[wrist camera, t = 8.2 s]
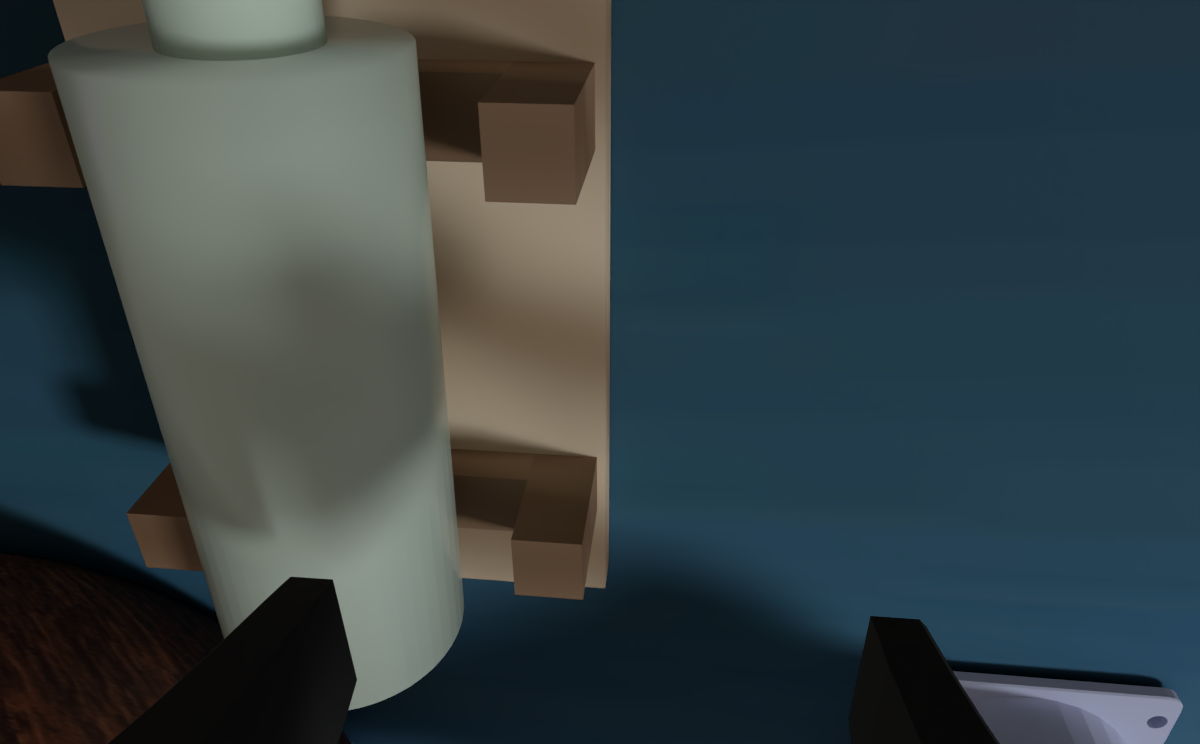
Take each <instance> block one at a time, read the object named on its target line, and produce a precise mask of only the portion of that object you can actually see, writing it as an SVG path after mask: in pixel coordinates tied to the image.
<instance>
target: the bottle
mask: <svg viewBox="0 0 1200 744" xmlns="http://www.w3.org/2000/svg"><path fill="white" fill-rule="evenodd" d="M141 2H142V6H143V10H144V14H145V18H146V22H147V23H140V24H133V25H127V26H121V27H116V28H111V29H106V30H102V31H97V32H93V33H89V34H86V35H82V36H79V37H76V38H73V39H71V40H68V41H65V42H63V43H61V44H59V45H57V46H56V47H54V48H53V49H52V50H51V51H50V52H49V54H48V61H49V64H50V67H51V70H52V74H53V77H54V80H55V84H56V87H57V90H58V94H59V97H60V100H61V103H62V107H63V110H64V113H65V117H66V120H67V123H68V126H69V130H70V133H71V136H72V140H73V143H74V146H75V150H76V153H77V156H78V159H79V163H80V166H81V169H82V173H83V176H84V179H85V182H86V186H87V189H88V192H89V196H90V199H91V202H92V206H93V209H94V212H95V215H96V219H97V222H98V225H99V229H100V232H101V235H102V238H103V242H104V245H105V248H106V252H107V255H108V258H109V262H110V265H111V268H112V271H113V275H114V278H115V281H116V285H117V288H118V291H119V294H120V298H121V301H122V304H123V308H124V311H125V314H126V318H127V321H128V324H129V327H130V331H131V334H132V337H133V341H134V344H135V347H136V350H137V354H138V357H139V360H140V364H141V367H142V370H143V374H144V377H145V380H146V383H147V387H148V390H149V393H150V397H151V400H152V403H153V406H154V410H155V413H156V416H157V420H158V423H159V426H160V429H161V433H162V436H163V439H164V443H165V446H166V449H167V453H168V456H169V459H170V462H171V466H172V469H173V472H174V476H175V479H176V482H177V485H178V489H179V492H180V495H181V499H182V502H183V505H184V509H185V512H186V515H187V518H188V522H189V525H190V528H191V532H192V535H193V538H194V541H195V545H196V548H197V551H198V555H199V558H200V561H201V565H202V568H203V571H204V574H205V578H206V581H207V584H208V588H209V591H210V594H211V597H212V601H213V604H214V607H215V611H216V614H217V617H218V621H219V624H220V627H221V630H222V634H223V637H224V639H225V638H226V637H227V636H228V635H229V634H230V633H231V632H232V631H233V630H234V629H235V628H236V627H237V626H238V625H240V624H241V623H242V622H243V621H244V620H245V619H246V618H247V617H248V616H249V615H250V614H251V613H252V612H253V611H254V610H255V609H256V608H257V607H258V606H259V605H260V604H261V603H263V602H264V601H265V600H266V599H267V598H268V597H269V596H270V595H271V594H272V593H273V592H274V591H275V590H276V589H278V588H279V587H280V586H281V585H282V584H283V583H284V582H285V581H286V580H287V579H288V578H290V577H304V578H319V579H333V582H334V586H335V590H336V594H337V599H338V603H339V607H340V611H341V615H342V619H343V623H344V627H345V632H346V636H347V640H348V644H349V648H350V652H351V656H352V661H353V665H354V669H355V673H356V677H357V682H356V686H355V689H354V692H353V696H352V699H351V703H350V706H349V710H353V709H357V708H362V707H365V706H368V705H371V704H375V703H378V702H380V701H383V700H385V699H387V698H390V697H392V696H394V695H396V694H398V693H400V692H401V691H403V690H405V689H407V688H409V687H410V686H412V685H413V684H414V683H416V682H417V681H419V680H420V679H421V678H423V677H424V676H425V675H426V674H427V673H429V672H430V671H431V670H432V669H433V668H434V667H435V666H436V665H437V664H438V663H439V662H440V661H441V659H442V658H443V657H444V656H445V655H446V653H447V652H448V650H449V649H450V647H451V646H452V644H453V642H454V640H455V638H456V637H457V635H458V632H459V629H460V626H461V623H462V619H463V612H464V597H463V585H462V573H461V562H460V550H459V539H458V527H457V515H456V504H455V492H454V480H453V469H452V457H451V445H450V434H449V422H448V411H447V399H446V387H445V376H444V364H443V352H442V341H441V329H440V317H439V306H438V294H437V283H436V271H435V259H434V248H433V236H432V224H431V213H430V201H429V189H428V178H427V166H426V154H425V143H424V131H423V120H422V108H421V96H420V85H419V73H418V61H417V50H416V40H415V38H414V36H413V35H412V34H410V33H409V32H407V31H405V30H403V29H401V28H398V27H395V26H392V25H388V24H384V23H380V22H374V21H369V20H362V19H355V18H345V17H335V16H324V13H323V6H322V0H141Z"/></svg>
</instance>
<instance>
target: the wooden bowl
mask: <svg viewBox="0 0 1200 744" xmlns="http://www.w3.org/2000/svg"><path fill="white" fill-rule="evenodd" d="M223 640H224V637H223V634H222V630H221V627H220V624H219V623H218V622H217V621H215V620H213V619H212V618H210V617H208V616H206V615H204V614H202V613H200V612H198V611H196V610H194V609H192V608H190V607H188V606H186V605H184V604H182V603H180V602H178V601H176V600H174V599H171V598H169V597H167V596H164V595H162V594H160V593H158V592H155V591H153V590H151V589H148V588H145V587H143V586H140V585H137V584H134V583H132V582H129V581H126V580H123V579H121V578H118V577H115V576H111V575H108V574H104V573H101V572H98V571H94V570H91V569H88V568H84V567H79V566H75V565H71V564H66V563H62V562H58V561H53V560H46V559H40V558H34V557H28V556H20V555H9V554H0V744H108V743H109V742H110V741H111V740H113V739H114V738H115V737H116V736H117V735H118V734H120V733H121V732H122V731H123V730H124V729H125V728H127V727H128V726H129V725H130V724H131V723H133V722H134V721H135V720H136V719H137V718H138V717H140V716H141V715H142V714H143V713H144V712H145V711H147V710H148V709H149V708H150V707H151V706H152V705H153V704H154V703H156V702H157V701H158V700H159V699H160V698H161V697H162V696H163V695H164V694H165V693H167V692H168V691H169V690H170V689H171V688H172V687H173V686H174V685H175V684H176V683H177V682H179V681H180V680H181V679H182V678H183V677H184V676H185V675H186V674H187V673H188V672H189V671H191V670H192V669H193V668H194V667H195V666H196V665H197V664H198V663H199V662H200V661H201V660H203V659H204V658H205V657H206V656H207V655H208V654H209V653H210V652H211V651H212V650H213V649H214V648H215V647H216V646H217V645H218V644H220V643H221V642H222V641H223ZM338 744H351V743H350V742H349V740H348V739H347V737H346V736H345V734H344V733H343V731H342V733H341V736H340V739H339V742H338Z"/></svg>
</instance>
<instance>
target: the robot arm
mask: <svg viewBox="0 0 1200 744" xmlns="http://www.w3.org/2000/svg"><path fill="white" fill-rule="evenodd" d="M356 682H357V677H356V673H355V669H354V665H353V661H352V656H351V652H350V648H349V644H348V640H347V636H346V632H345V627H344V623H343V619H342V615H341V611H340V607H339V603H338V599H337V594H336V590H335V586H334V582H333V579H319V578H304V577H290V578H288V579H287V580H286V581H285V582H284V583H283V584H282V585H281V586H280V587H279V588H278V589H276V590H275V591H274V592H273V593H272V594H271V595H270V596H269V597H268V598H267V599H266V600H265V601H264V602H263V603H261V604H260V605H259V606H258V607H257V608H256V609H255V610H254V611H253V612H252V613H251V614H250V615H249V616H248V617H247V618H246V619H245V620H244V621H243V622H242V623H241V624H240V625H238V626H237V627H236V628H235V629H234V630H233V631H232V632H231V633H230V634H229V635H228V636H227V637H226V638H225V639H224V640H223V641H222V642H221V643H220V644H218V645H217V646H216V647H215V648H214V649H213V650H212V651H211V652H210V653H209V654H208V655H207V656H206V657H205V658H204V659H203V660H201V661H200V662H199V663H198V664H197V665H196V666H195V667H194V668H193V669H192V670H191V671H189V672H188V673H187V674H186V675H185V676H184V677H183V678H182V679H181V680H180V681H179V682H177V683H176V684H175V685H174V686H173V687H172V688H171V689H170V690H169V691H168V692H167V693H165V694H164V695H163V696H162V697H161V698H160V699H159V700H158V701H157V702H156V703H154V704H153V705H152V706H151V707H150V708H149V709H148V710H147V711H145V712H144V713H143V714H142V715H141V716H140V717H138V718H137V719H136V720H135V721H134V722H133V723H131V724H130V725H129V726H128V727H127V728H125V729H124V730H123V731H122V732H121V733H120V734H118V735H117V736H116V737H115V738H114V739H113V740H111V741H110V742H109V743H108V744H338V742H339V739H340V736H341V733H342V729H343V726H344V723H345V720H346V717H347V713H348V710H349V706H350V703H351V699H352V696H353V692H354V689H355V686H356ZM1182 707H1183V705H1182V703H1181V701H1180V700H1179V698H1178V696H1177V694H1176V692H1174V691H1172V690H1171V689H1167V688H1162V687H1149V686H1136V685H1124V684H1111V683H1098V682H1086V681H1073V680H1061V679H1048V678H1035V677H1023V676H1010V675H997V674H985V673H972V672H959V671H952V669H951V667H950V666H949V664H948V662H947V661H946V659H945V658H944V656H943V654H942V653H941V651H940V649H939V647H938V646H937V644H936V642H935V641H934V639H933V637H932V636H931V634H930V632H929V630H928V629H927V627H926V626H925V625H924V624H923V623H922V622H921V621H920V620H919V619H904V618H890V617H875V616H871V617H870V621H869V626H868V631H867V636H866V640H865V645H864V650H863V655H862V659H861V664H860V669H859V674H858V678H857V683H856V688H855V693H854V697H853V702H852V707H851V712H850V716H849V725H850V736H851V744H1164V742H1165V740H1166V738H1167V737H1168V735H1169V733H1170V731H1171V729H1172V728H1173V726H1174V724H1175V722H1176V720H1177V718H1178V717H1179V715H1180V713H1181V711H1182Z"/></svg>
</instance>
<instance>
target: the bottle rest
mask: <svg viewBox="0 0 1200 744" xmlns="http://www.w3.org/2000/svg"><path fill="white" fill-rule="evenodd" d="M53 3H54V6H55V9H56V12H57V16H58V19H59V22H60V25H61V28H62V32H63V35H64V38H65V41H68V40H71V39H73V38H76V37H79V36H82V35H86V34H89V33H93V32H97V31H102V30H106V29H111V28H116V27H121V26H127V25H133V24H140V23H147V22H146V18H145V14H144V10H143V6H142V2H141V0H53ZM322 6H323V13H324V16H335V17H345V18H355V19H362V20H369V21H374V22H380V23H384V24H388V25H392V26H395V27H398V28H401V29H403V30H405V31H407V32H409V33H410V34H412V35H413V36H414V38H415V40H416V50H417V61H418V73H419V85H420V96H421V108H422V120H423V131H424V143H425V154H426V166H427V178H428V189H429V201H430V213H431V224H432V236H433V248H434V259H435V271H436V283H437V294H438V306H439V317H440V329H441V341H442V352H443V364H444V376H445V387H446V399H447V411H448V422H449V434H450V445H451V457H452V469H453V480H454V492H455V504H456V515H457V527H458V539H459V550H460V562H461V573H462V578H472V579H485V580H499V581H512V582H514V588H515V595H526V596H540V597H553V598H566V599H580V600H583V596H584V590H585V587H594V588H605V586H606V578H607V571H608V563H609V381H610V151H611V0H322ZM0 183H1V185H10V186H40V187H69V188H84V187H86V182H85V179H84V176H83V173H82V169H81V166H80V163H79V159H78V156H77V153H76V150H75V146H74V143H73V140H72V136H71V133H70V130H69V126H68V123H67V120H66V117H65V113H64V110H63V107H62V103H61V100H60V97H59V94H58V90H57V87H56V84H55V80H54V77H53V74H52V70H51V67H50V64H49V63H46V64H43V65H40V66H37V67H34V68H31V69H28V70H25V71H22V72H19V73H16V74H13V75H10V76H6V77H3V78H0ZM126 514H127V516H128V519H129V521H130V524H131V527H132V529H133V532H134V535H135V537H136V540H137V542H138V545H139V548H140V550H141V553H142V555H143V558H144V561H145V563H146V566H147V567H152V568H165V569H179V570H192V571H203V568H202V565H201V561H200V558H199V555H198V551H197V548H196V545H195V541H194V538H193V535H192V532H191V528H190V525H189V522H188V518H187V515H186V512H185V509H184V505H183V502H182V499H181V495H180V492H179V489H178V485H177V482H176V479H175V476H174V472H173V469H172V466H171V462H170V463H169V465H168V466H167V467H166V468H165V469H164V470H163V472H162V473H161V474H160V475H159V476H158V477H157V479H156V480H155V481H154V482H153V483H152V484H151V485H150V487H149V488H148V489H147V490H146V491H145V492H144V494H143V495H142V496H141V497H140V498H139V499H138V501H137V502H136V503H135V504H134V505H133V506H132V507H131V509H130V510H129V511H128V512H127V513H126Z"/></svg>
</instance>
